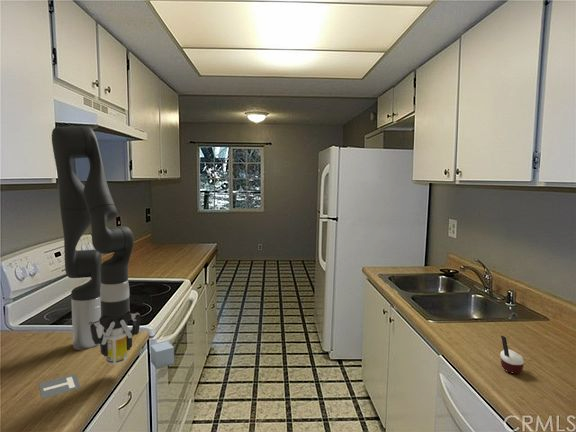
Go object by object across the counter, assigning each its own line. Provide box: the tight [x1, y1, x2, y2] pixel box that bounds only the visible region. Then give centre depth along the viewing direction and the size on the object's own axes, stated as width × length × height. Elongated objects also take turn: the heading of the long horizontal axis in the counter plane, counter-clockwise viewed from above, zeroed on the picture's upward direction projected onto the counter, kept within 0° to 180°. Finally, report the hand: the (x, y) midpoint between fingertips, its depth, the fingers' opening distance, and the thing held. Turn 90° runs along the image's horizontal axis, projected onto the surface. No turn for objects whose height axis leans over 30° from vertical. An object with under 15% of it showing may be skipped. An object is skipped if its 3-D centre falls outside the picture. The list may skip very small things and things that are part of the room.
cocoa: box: [500, 335, 525, 374], centre depth 119 cm, size 10×6×12 cm, turn 89°
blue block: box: [150, 340, 175, 370], centre depth 120 cm, size 6×6×6 cm
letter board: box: [38, 373, 82, 400], centre depth 104 cm, size 9×9×1 cm
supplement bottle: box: [105, 327, 128, 365], centre depth 109 cm, size 6×6×10 cm
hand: (116, 352), depth 110 cm, fingers closed on supplement bottle, 5 cm apart
